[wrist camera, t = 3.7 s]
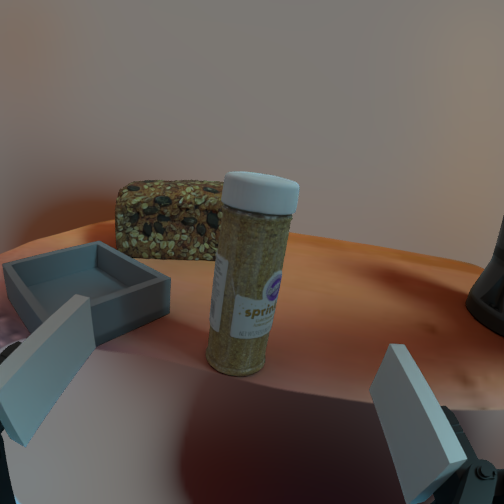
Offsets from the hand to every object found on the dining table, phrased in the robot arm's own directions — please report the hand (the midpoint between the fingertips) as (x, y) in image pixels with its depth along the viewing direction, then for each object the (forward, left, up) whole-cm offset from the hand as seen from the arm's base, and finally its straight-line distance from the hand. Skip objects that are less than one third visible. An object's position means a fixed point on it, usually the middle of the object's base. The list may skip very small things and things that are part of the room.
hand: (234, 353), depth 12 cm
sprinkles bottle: (-7, -4, -7) cm, 11 cm away
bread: (-22, -24, -7) cm, 33 cm away
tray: (-2, -18, -7) cm, 20 cm away
